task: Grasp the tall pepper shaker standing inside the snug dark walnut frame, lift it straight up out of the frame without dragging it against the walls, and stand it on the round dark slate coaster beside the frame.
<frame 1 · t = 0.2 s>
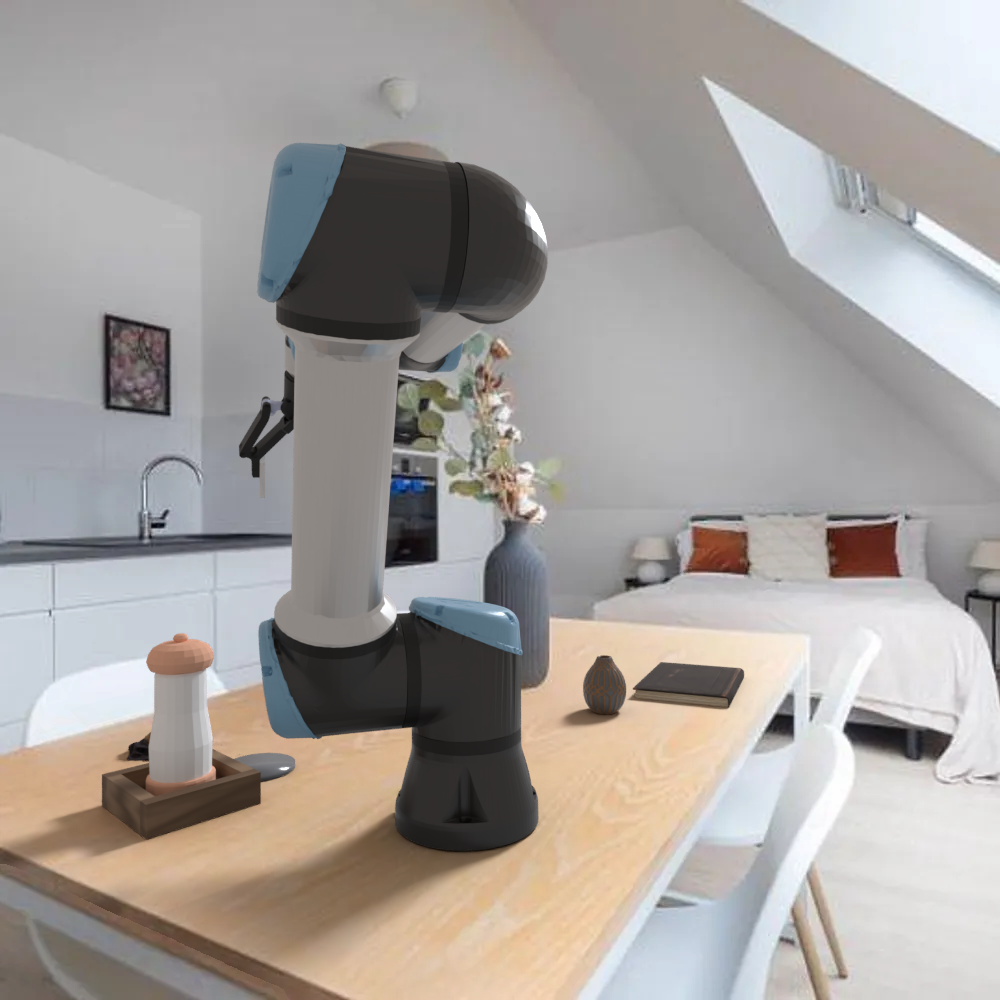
hand: (306, 492, 121), 36 cm above the table, tool tilted 35°, fingers open, 13 cm apart
hardcover book: (691, 691, 136), on the table
brown and black lump: (165, 753, 104), on the table
walnut frame: (181, 804, 84), on the table
pepper shaker: (181, 806, 84), resting in walnut frame
vase: (604, 712, 121), on the table
slate coaster: (258, 769, 95), on the table
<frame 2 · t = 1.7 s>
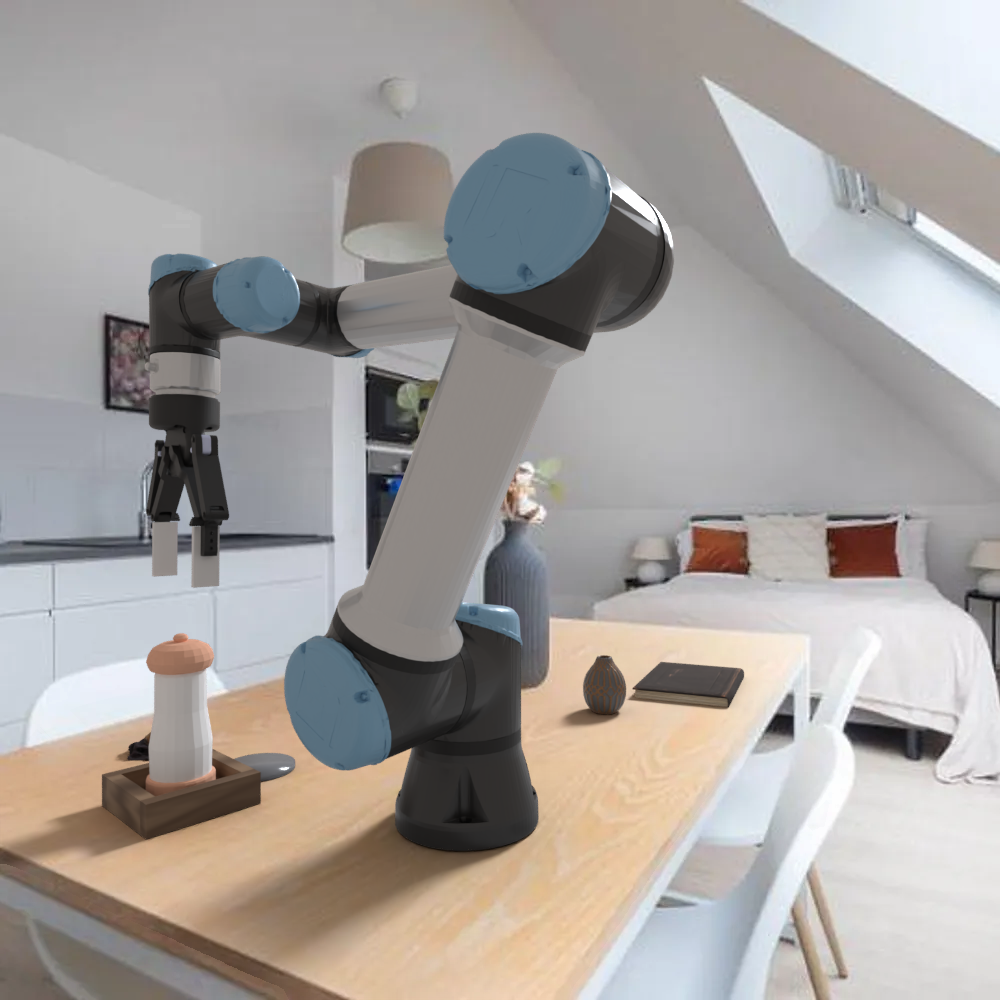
hand: (183, 581, 86), 25 cm above the table, tool pointing down, fingers open, 13 cm apart
nothing on the table moved.
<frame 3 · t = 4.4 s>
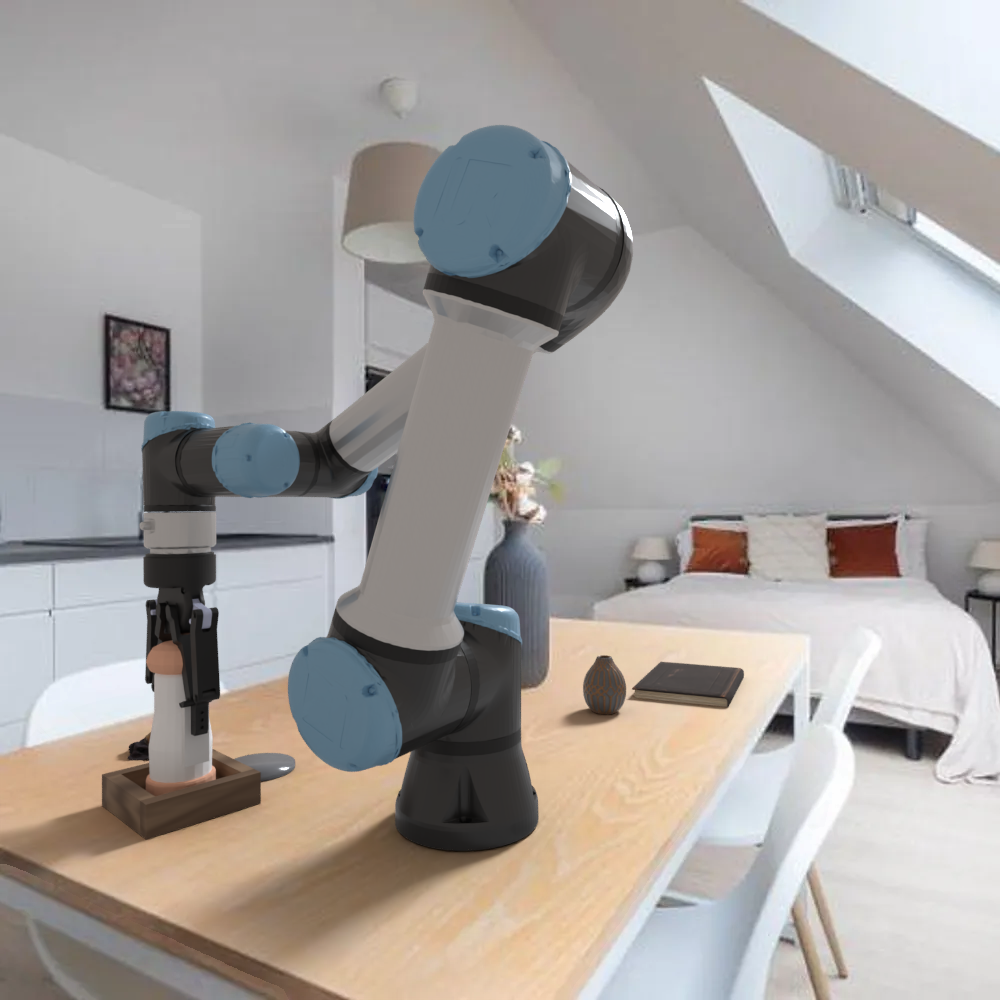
hand: (181, 755, 84), 6 cm above the table, tool pointing down, fingers closed on pepper shaker, 7 cm apart
pepper shaker: (181, 806, 84), resting in walnut frame, touching gripper
everything else where it was.
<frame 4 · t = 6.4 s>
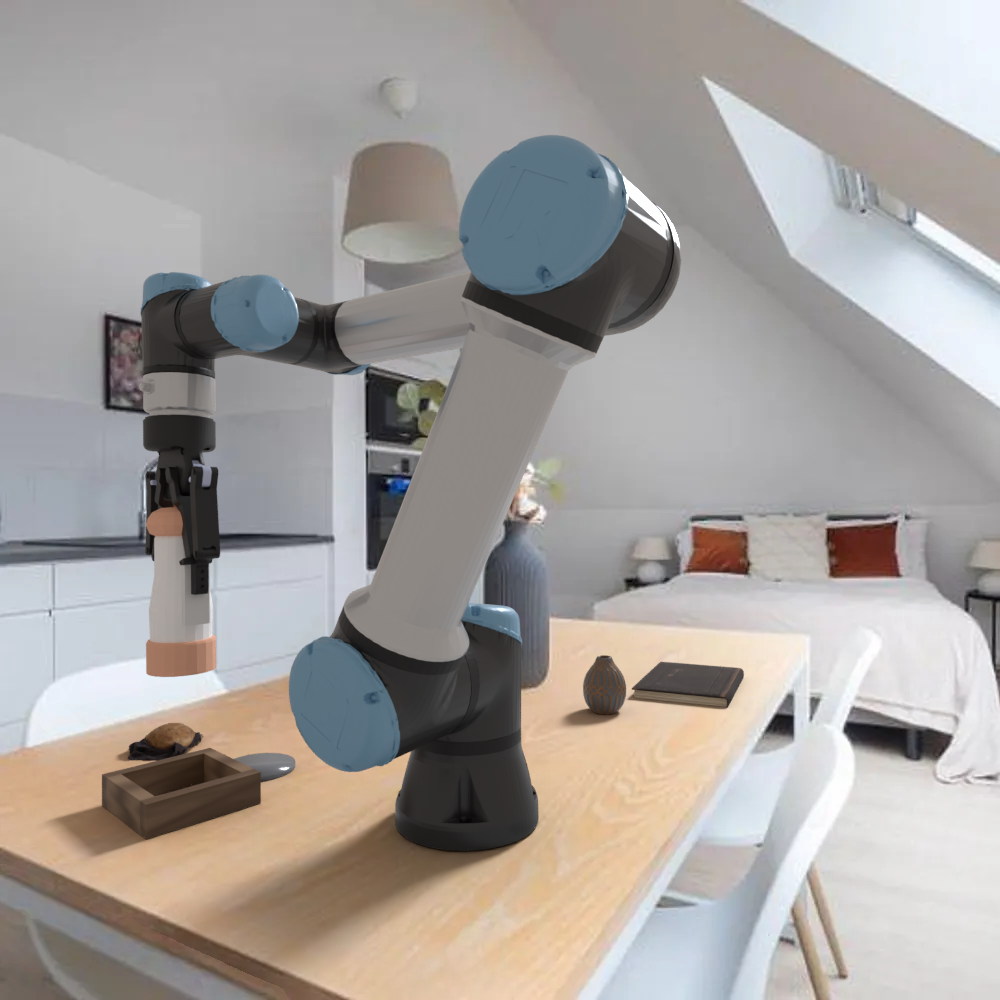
hand: (181, 620, 84), 21 cm above the table, tool pointing down, fingers closed on pepper shaker, 7 cm apart
pepper shaker: (182, 671, 84), point 15 cm above the table, touching gripper
everything else where it was.
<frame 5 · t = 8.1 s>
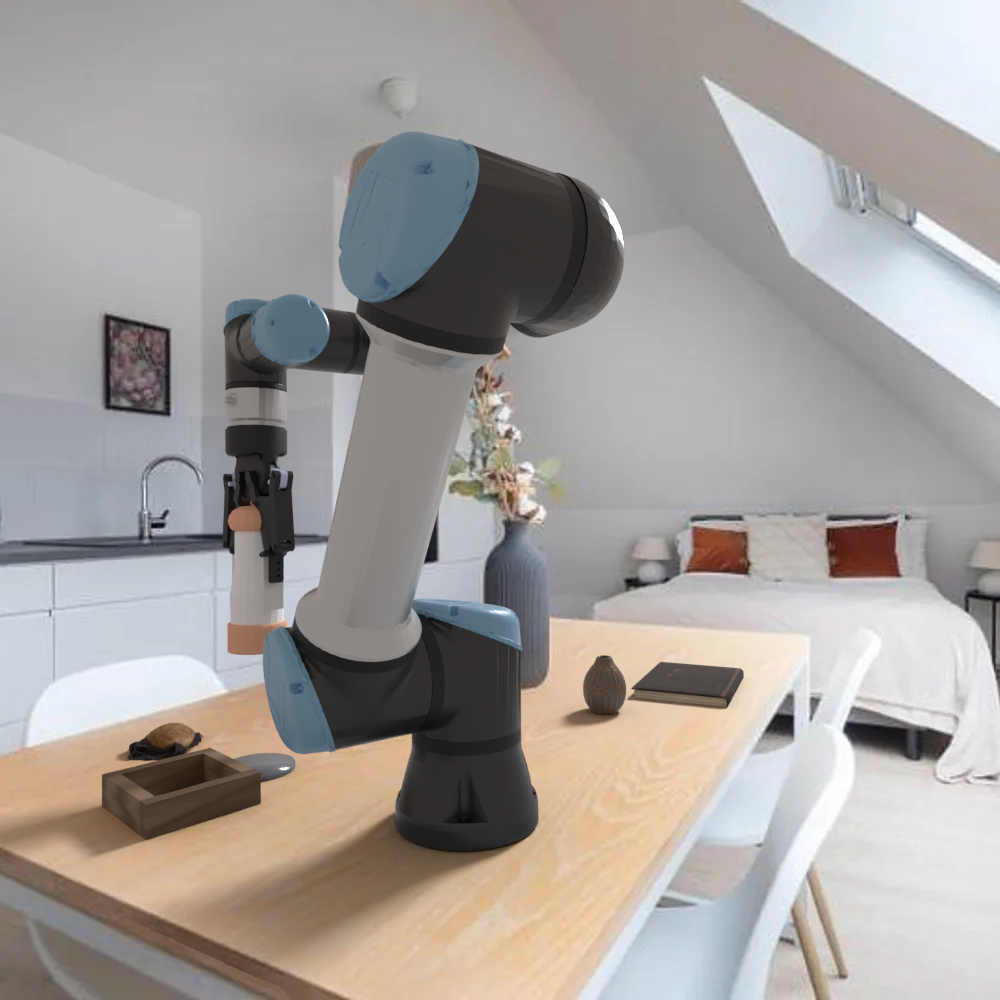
hand: (257, 606, 95), 21 cm above the table, tool pointing down, fingers closed on pepper shaker, 7 cm apart
pepper shaker: (257, 651, 95), point 15 cm above the table, touching gripper
everything else where it was.
when the fingers open (7 cm above the table, at t = 10.8 s): pepper shaker stays where it is, resting on slate coaster.
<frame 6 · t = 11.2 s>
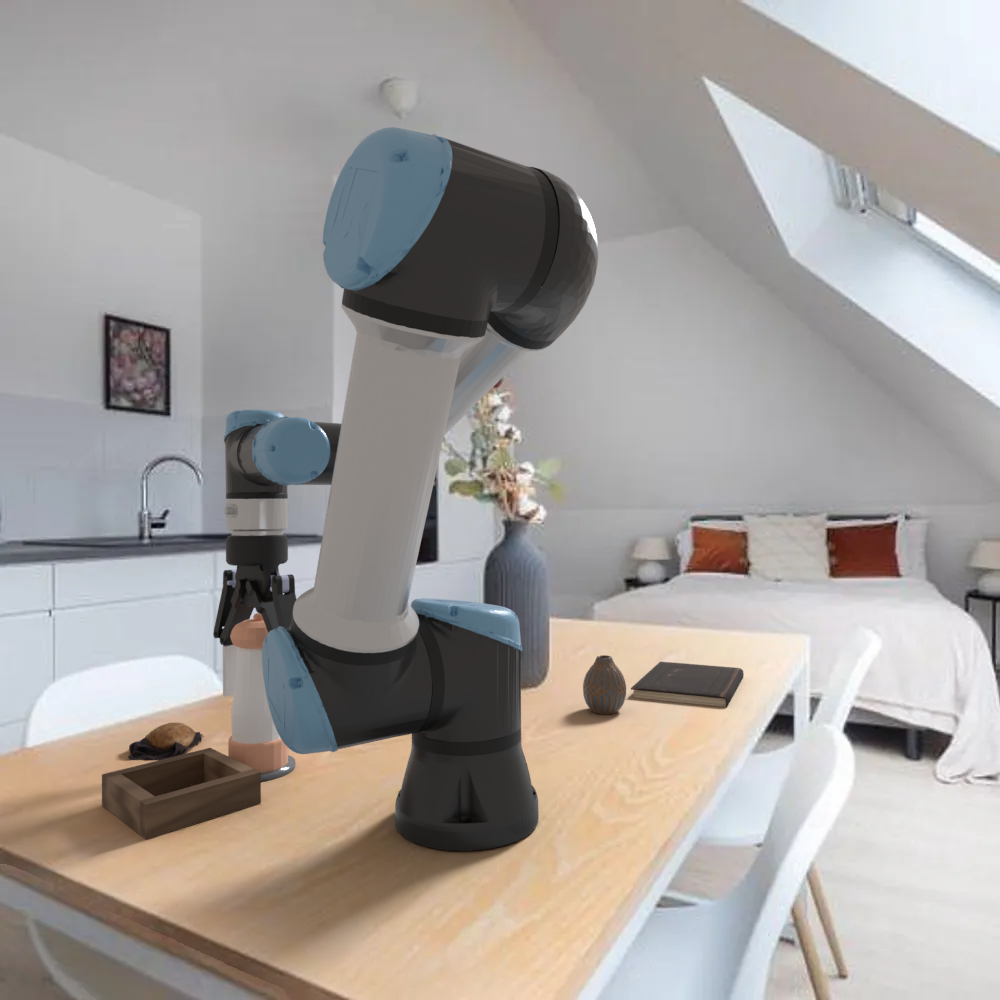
hand: (258, 702, 95), 8 cm above the table, tool pointing down, fingers open, 12 cm apart
pepper shaker: (258, 765, 95), resting on slate coaster
everything else where it was.
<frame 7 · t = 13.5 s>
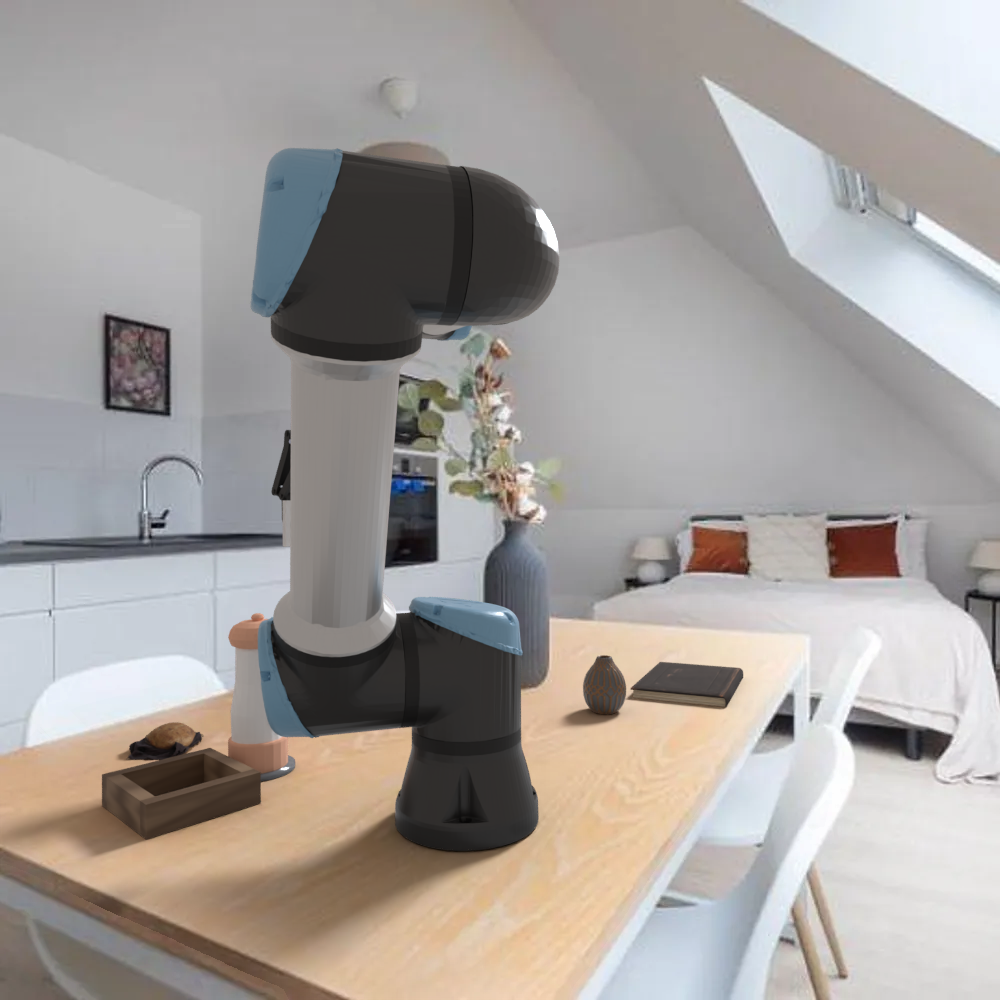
hand: (321, 548, 102), 28 cm above the table, tool pointing down, fingers open, 13 cm apart
nothing on the table moved.
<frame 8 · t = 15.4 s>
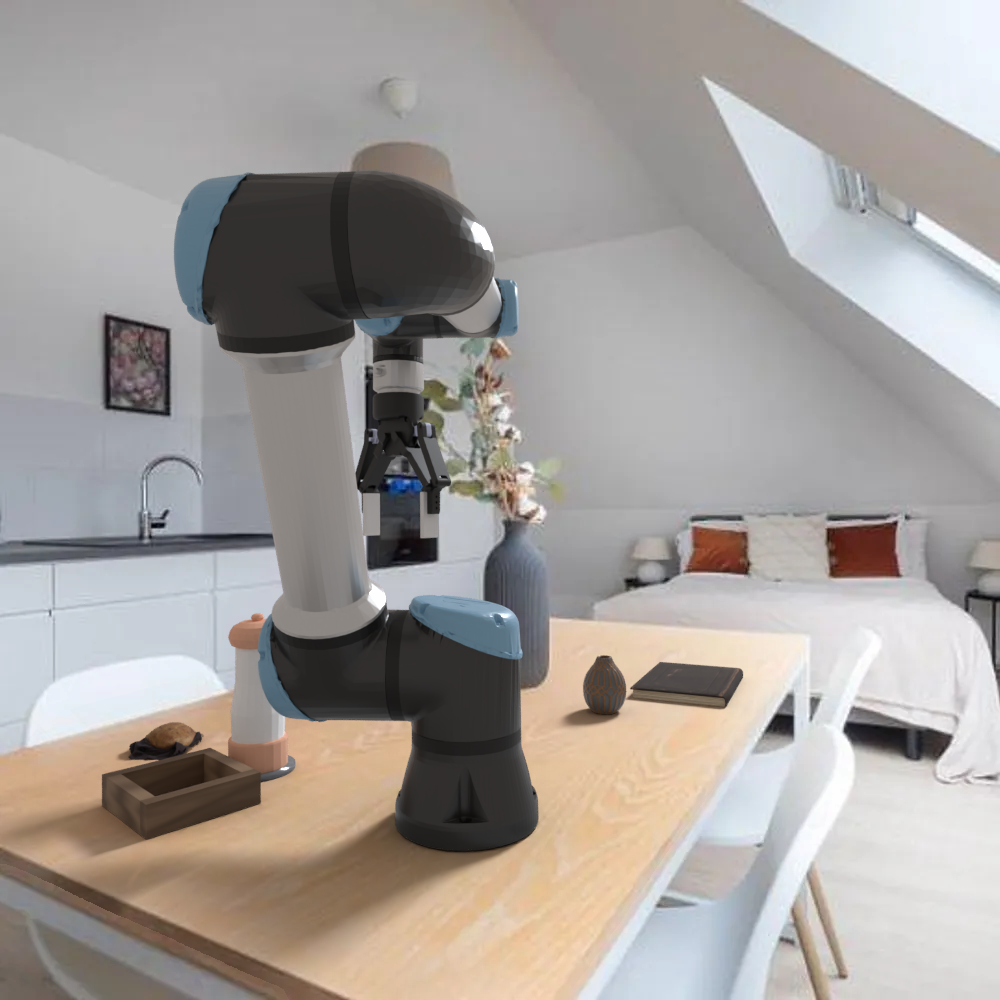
hand: (399, 536, 111), 29 cm above the table, tool pointing down, fingers open, 13 cm apart
nothing on the table moved.
at the end: pepper shaker 0.0 cm from the slate coaster (horizontally); pepper shaker tilted 0°; pepper shaker resting on slate coaster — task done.
